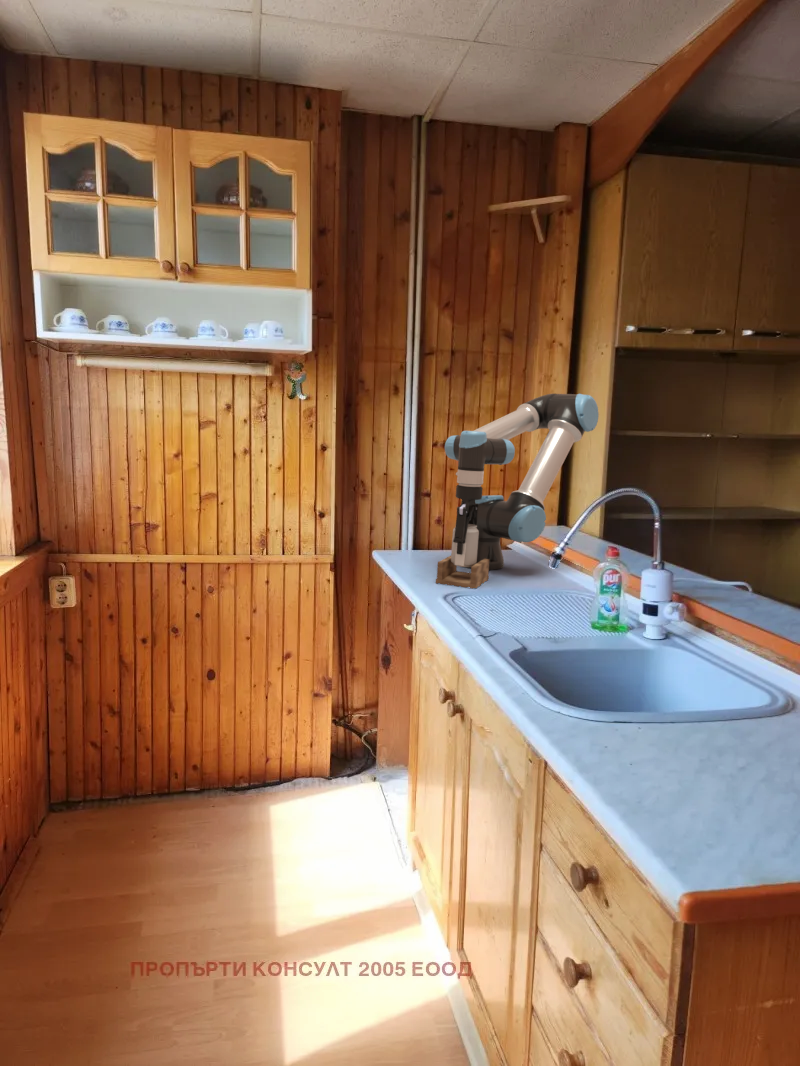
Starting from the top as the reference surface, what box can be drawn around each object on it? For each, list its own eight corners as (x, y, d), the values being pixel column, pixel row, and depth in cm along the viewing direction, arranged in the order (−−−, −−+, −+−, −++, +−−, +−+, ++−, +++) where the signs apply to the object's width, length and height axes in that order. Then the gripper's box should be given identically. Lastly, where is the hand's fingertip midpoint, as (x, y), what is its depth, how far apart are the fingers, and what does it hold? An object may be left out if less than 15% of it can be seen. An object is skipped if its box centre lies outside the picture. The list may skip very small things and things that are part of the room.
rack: (450, 574, 221) (452, 554, 220) (488, 579, 217) (490, 559, 216) (435, 583, 208) (437, 562, 207) (475, 588, 204) (477, 567, 203)
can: (476, 563, 215) (479, 523, 213) (476, 568, 207) (479, 527, 206) (450, 561, 215) (453, 521, 214) (450, 566, 208) (453, 525, 206)
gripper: (467, 481, 218) (461, 555, 222) (446, 486, 200) (440, 567, 203) (491, 483, 216) (485, 558, 219) (472, 488, 197) (465, 570, 201)
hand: (463, 562), depth 211 cm, fingers closed on can, 7 cm apart
